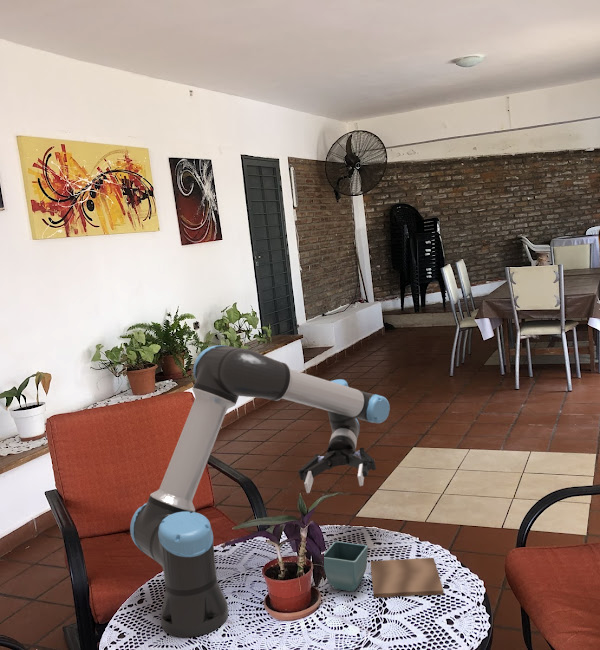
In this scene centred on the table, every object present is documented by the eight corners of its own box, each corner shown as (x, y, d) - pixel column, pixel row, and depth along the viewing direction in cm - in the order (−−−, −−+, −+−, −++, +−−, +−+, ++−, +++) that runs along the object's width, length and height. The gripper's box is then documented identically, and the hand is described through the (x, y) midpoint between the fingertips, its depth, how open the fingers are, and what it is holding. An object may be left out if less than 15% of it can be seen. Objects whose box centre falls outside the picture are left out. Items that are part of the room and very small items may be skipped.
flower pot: (358, 598, 157) (355, 561, 155) (323, 592, 160) (320, 556, 159) (371, 579, 164) (368, 544, 163) (337, 575, 168) (334, 540, 167)
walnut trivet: (373, 597, 156) (373, 593, 156) (370, 564, 172) (370, 561, 172) (443, 594, 155) (443, 590, 155) (433, 561, 171) (433, 557, 171)
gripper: (389, 452, 185) (385, 491, 165) (302, 465, 191) (288, 504, 171) (383, 428, 184) (379, 464, 164) (296, 441, 189) (281, 477, 169)
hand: (333, 484), depth 167 cm, fingers open, 13 cm apart
